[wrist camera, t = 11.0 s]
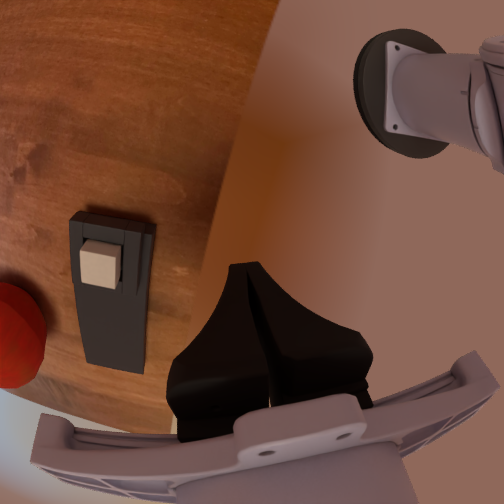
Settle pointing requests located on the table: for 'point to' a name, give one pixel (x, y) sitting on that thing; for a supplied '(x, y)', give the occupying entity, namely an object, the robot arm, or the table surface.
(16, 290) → the apple
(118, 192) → the table surface
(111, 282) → the switch
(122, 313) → the power strip
